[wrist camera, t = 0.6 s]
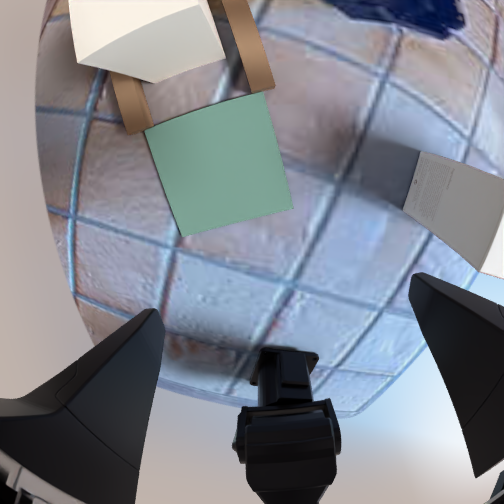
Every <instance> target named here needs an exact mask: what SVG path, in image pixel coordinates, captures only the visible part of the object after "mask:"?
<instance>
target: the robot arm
mask: <svg viewBox="0 0 504 504" xmlns="http://www.w3.org/2000/svg"><path fill="white" fill-rule="evenodd" d="M408 296H409V301H410V303H411V306H412V308H413V311H414V313H415V316H416V318H417V321H418V324H419V326H420V329H421V332H422V334H423V336H424V338H425V340H426V342H427V344H428V347H429V349H430V351H431V353H432V355H433V357H434V359H435V362H436V364H437V366H438V369H439V371H440V373H441V375H442V378H443V380H444V383H445V385H446V388H447V390H448V393H449V395H450V398H451V400H452V403H453V406H454V408H455V411H456V414H457V417H458V420H459V423H460V426H461V428H462V432H463V435H464V438H465V442H466V445H467V448H468V452H469V456H470V460H471V464H472V468H473V472H474V476H475V478H477V477H479V476H480V475H482V474H484V473H485V472H487V471H488V470H490V469H491V468H493V467H494V466H496V465H497V464H498V463H500V462H501V461H503V460H504V307H503V306H501V305H499V304H498V305H497V304H496V303H494V302H492V301H490V300H488V299H486V298H483V297H481V296H478V295H476V294H474V293H472V292H469V291H467V290H465V289H462V288H460V287H458V286H455V285H453V284H450V283H448V282H446V281H443V280H441V279H438V278H436V277H433V276H431V275H428V274H426V273H423V272H420V273H415V274H413V275H412V277H411V282H410V288H409V294H408ZM164 337H165V327H164V324H163V322H162V319H161V317H160V314H159V312H158V310H157V309H155V308H150V309H145V310H143V311H142V312H140V313H139V314H138V315H136V316H135V317H134V318H132V319H131V320H130V321H128V322H127V323H126V324H124V325H123V326H121V327H120V328H119V329H117V330H116V331H115V332H113V333H112V334H111V335H109V336H108V337H107V338H105V339H104V340H103V341H101V342H100V343H99V344H97V345H96V346H95V347H93V348H92V349H91V350H89V351H88V352H87V353H85V354H84V355H83V356H82V357H80V358H79V359H78V361H75V362H74V363H72V364H71V365H70V366H68V367H67V368H66V369H64V370H63V371H62V372H60V373H59V374H57V375H56V376H54V377H53V378H51V379H50V380H48V381H47V382H45V383H44V384H42V385H41V386H39V387H38V388H36V389H35V390H33V391H32V392H30V393H29V394H27V395H25V396H23V397H21V398H17V399H3V398H0V504H135V499H136V492H137V485H138V478H139V470H140V464H141V458H142V453H143V447H144V442H145V437H146V431H147V426H148V421H149V416H150V411H151V407H152V402H153V398H154V393H155V389H156V385H157V380H158V376H159V372H160V367H161V360H162V352H163V344H164ZM265 352H266V353H265ZM318 360H319V356H318V354H313V353H303V352H293V351H284V350H276V349H268V348H263V349H261V351H260V353H259V356H258V359H257V362H256V365H255V368H254V370H253V373H252V376H251V379H250V384H251V385H253V386H258V407H248V406H242V410H241V413H240V414H239V415H238V422H237V430H236V434H235V437H234V440H233V443H232V448H233V450H234V451H236V452H237V455H238V457H239V461H240V463H241V464H246V479H247V482H248V484H249V485H250V487H251V488H252V490H253V491H254V492H256V493H257V495H258V496H259V497H260V499H261V500H262V501H263V502H264V504H319V501H320V499H321V498H322V496H323V495H324V493H325V491H326V490H327V488H328V486H329V485H331V484H332V483H333V481H334V478H335V476H336V474H337V466H336V455H339V454H340V451H341V433H340V428H339V424H338V421H337V418H336V415H335V411H334V408H333V405H332V402H331V399H330V398H328V399H325V400H320V401H314V400H313V393H312V387H311V381H310V374H311V372H312V371H313V369H314V367H315V365H316V364H317V362H318ZM484 504H504V470H503V471H502V472H501V473H500V475H499V478H498V480H497V483H496V485H495V488H494V490H493V493H492V495H491V497H490V500H488V501H487V502H485V503H484Z"/></svg>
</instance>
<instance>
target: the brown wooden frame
mask: <svg viewBox="0 0 504 504" xmlns="http://www.w3.org/2000/svg"><path fill="white" fill-rule="evenodd" d="M221 1H222V4H223V7H224V9H225V12H226V15H227V18H228V21H229V24H230V27H231V30H232V33H233V36H234V39H235V42H236V45H237V48H238V51H239V54H240V57H241V60H242V63H243V66H244V69H245V73H246V76H247V79H248V82H249V86H250V89H251V92H252V94H253V93H257V92H262V91H266V90H270V89H274V88H275V86H276V85H275V82H274V79H273V76H272V72H271V69H270V66H269V63H268V60H267V57H266V54H265V50H264V47H263V44H262V42H261V39H260V36H259V33H258V30H257V27H256V24H255V21H254V19H253V16H252V13H251V11H250V8H249V5H248V3H247V0H221ZM109 71H110V70H109ZM110 75H111V79H112V83H113V86H114V90H115V94H116V97H117V101H118V105H119V108H120V111H121V115H122V118H123V122H124V125H125V128H126V131H127V134H128V135H133V134H137V133H139V132H142V131H144V130H146V129H149V128H151V127H153V126H154V124H153V121H152V118H151V114H150V111H149V108H148V104H147V101H146V98H145V94H144V91H143V87H142V84H141V80H140V79H139V78H135V77H132V76H129V75H125V74H121V73H118V72H114V71H110Z"/></svg>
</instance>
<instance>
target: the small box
mask: <svg viewBox="0 0 504 504" xmlns="http://www.w3.org/2000/svg"><path fill="white" fill-rule="evenodd" d="M403 211H404V212H405V213H406V214H408V215H409V216H411V217H412V218H413V219H415V220H416V221H417V222H419V223H420V224H421V225H423V226H424V227H425V228H427V229H428V230H429V231H431V232H432V233H433V234H434V235H436V236H437V237H438V238H439V239H441V240H442V241H443V242H444V243H446V244H447V245H448V246H449V247H451V248H452V249H453V250H454V251H455V252H457V253H458V254H459V255H460V256H461V257H462V258H464V259H465V260H466V261H467V262H468V263H469V264H470V265H472V266H473V267H474V268H475V269H476V270H477V271H478V272H481V273H484V274H487V275H491V276H495V277H497V278H501V279H504V179H502V178H499V177H497V176H495V175H492V174H490V173H487V172H484V171H482V170H479V169H477V168H474V167H472V166H469V165H466V164H463V163H460V162H458V161H454V160H451V159H448V158H445V157H442V156H438V155H435V154H431V153H427V152H423V151H421V152H420V155H419V159H418V163H417V166H416V170H415V173H414V176H413V180H412V183H411V186H410V189H409V192H408V195H407V198H406V201H405V204H404V207H403Z"/></svg>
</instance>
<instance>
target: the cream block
mask: <svg viewBox="0 0 504 504" xmlns="http://www.w3.org/2000/svg"><path fill="white" fill-rule="evenodd" d="M69 10H70V19H71V27H72V34H73V41H74V47H75V52H76V58H77V63H80V64H85V65H89V66H94V67H98V68H102V69H106V70H110V71H114V72H118V73H121V74H125V75H129V76H132V77H135V78H139V79H142V80H145V81H148V82H152V83H157V82H160V81H162V80H165V79H167V78H170V77H172V76H175V75H177V74H180V73H183V72H185V71H188V70H191V69H194V68H197V67H200V66H203V65H206V64H209V63H212V62H215V61H219V60H222V59H226V56H225V53H224V50H223V47H222V44H221V41H220V38H219V35H218V32H217V29H216V26H215V23H214V20H213V17H212V14H211V11H210V8H209V5H208V2H207V0H69Z"/></svg>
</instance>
